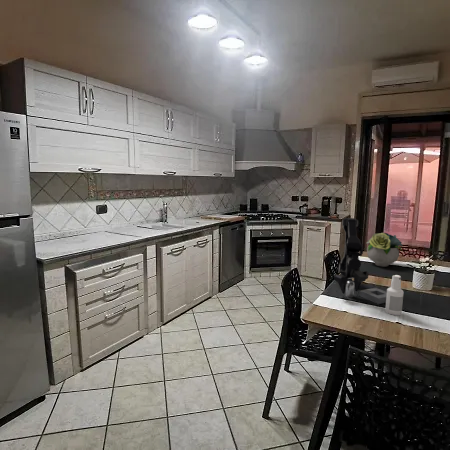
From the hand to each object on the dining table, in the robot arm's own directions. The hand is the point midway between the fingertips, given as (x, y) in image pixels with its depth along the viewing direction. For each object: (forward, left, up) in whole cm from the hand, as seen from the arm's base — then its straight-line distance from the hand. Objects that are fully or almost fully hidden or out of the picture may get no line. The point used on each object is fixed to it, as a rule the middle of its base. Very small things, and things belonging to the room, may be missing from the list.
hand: (349, 292), depth 168 cm
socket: (+8, +11, -2) cm, 14 cm away
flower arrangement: (-37, +70, -2) cm, 79 cm away
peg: (0, 0, -2) cm, 2 cm away
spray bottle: (+24, +3, -2) cm, 24 cm away
